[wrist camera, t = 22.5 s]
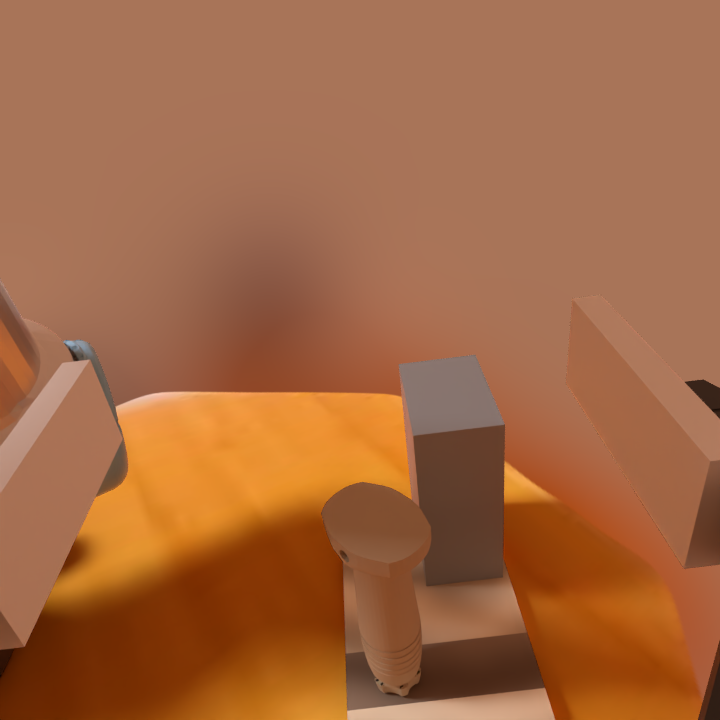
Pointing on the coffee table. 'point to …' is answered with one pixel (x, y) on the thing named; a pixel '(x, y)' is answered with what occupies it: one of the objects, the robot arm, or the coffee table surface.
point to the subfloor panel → (454, 657)
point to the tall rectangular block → (456, 467)
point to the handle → (382, 575)
